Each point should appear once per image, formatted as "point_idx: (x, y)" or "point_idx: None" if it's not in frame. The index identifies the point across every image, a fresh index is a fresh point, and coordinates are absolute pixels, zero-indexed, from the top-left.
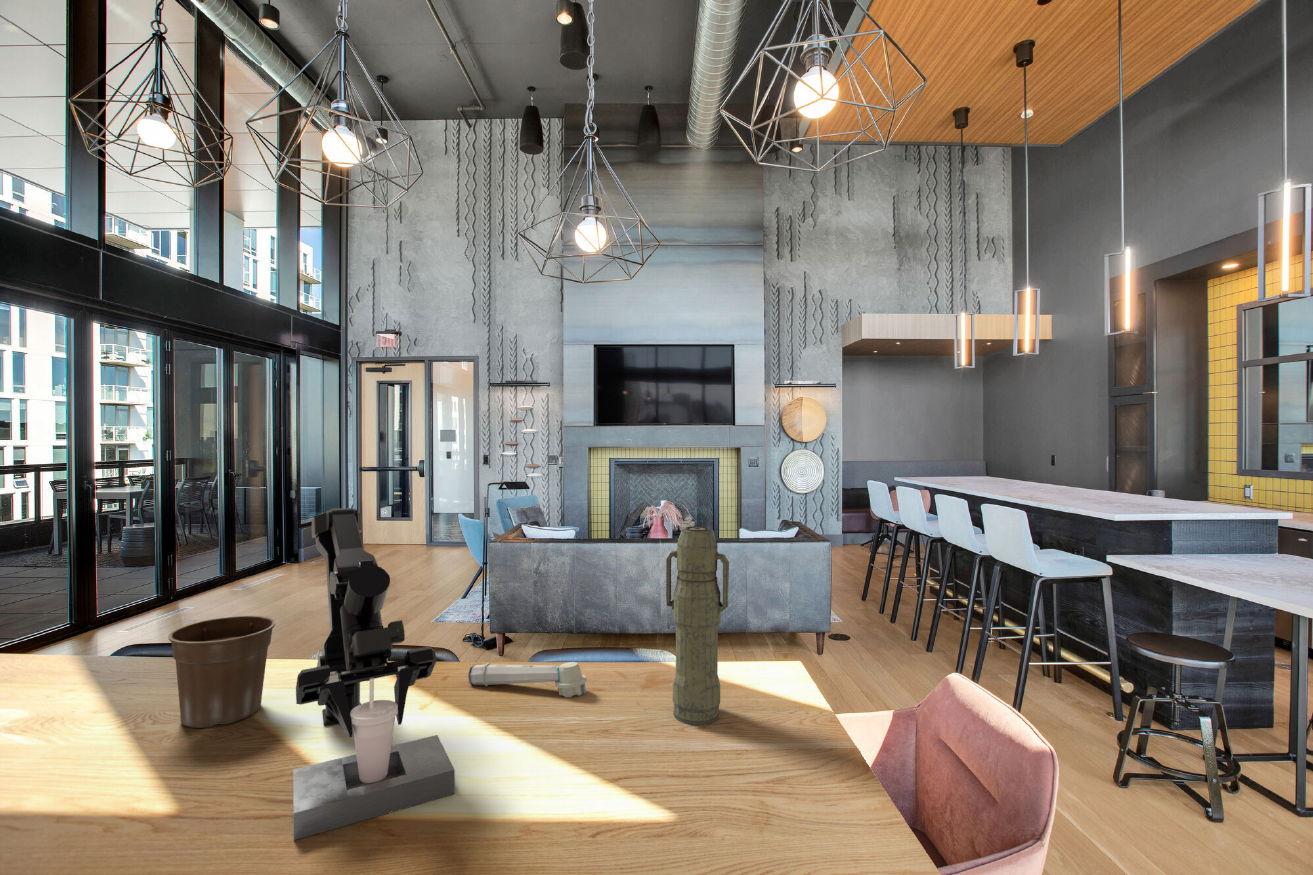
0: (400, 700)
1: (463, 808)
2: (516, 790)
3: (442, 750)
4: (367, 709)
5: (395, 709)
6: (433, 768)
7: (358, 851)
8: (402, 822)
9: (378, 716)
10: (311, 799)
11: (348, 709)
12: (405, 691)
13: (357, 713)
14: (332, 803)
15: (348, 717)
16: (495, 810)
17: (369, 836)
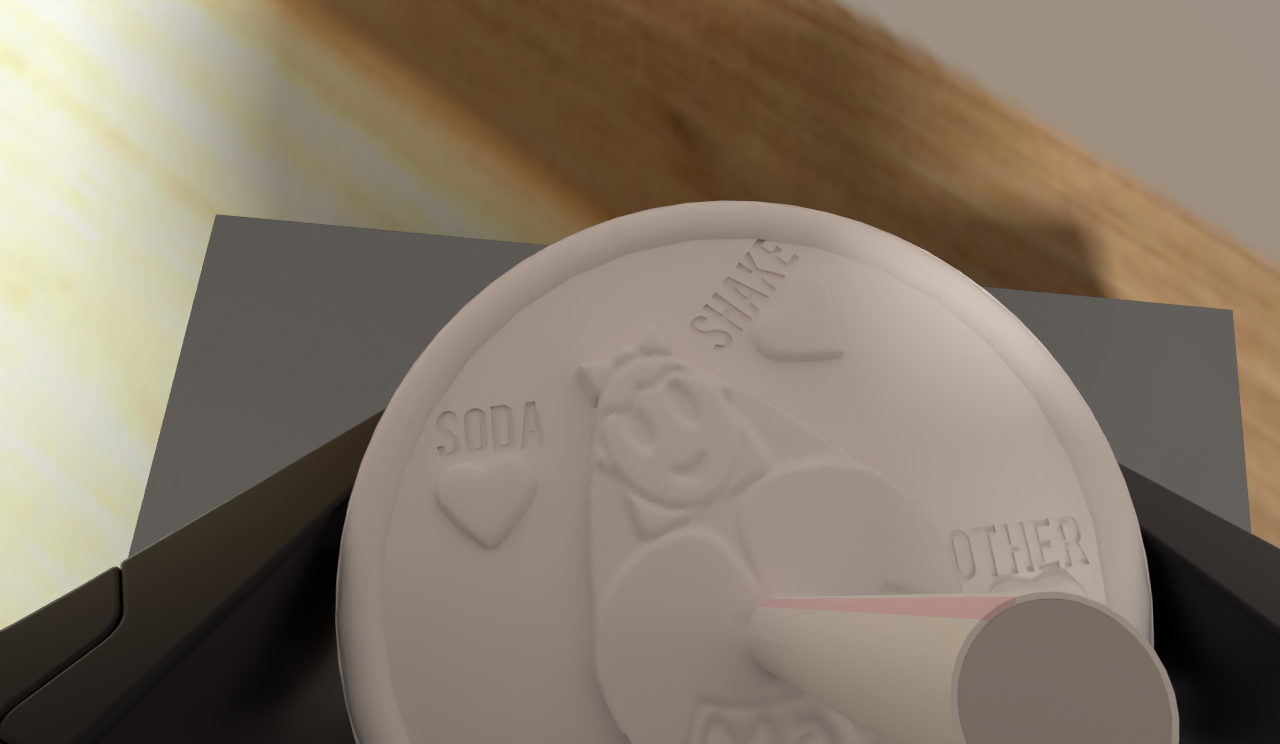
0: (255, 548)
1: (312, 126)
2: (12, 115)
3: (150, 544)
4: (867, 569)
5: (439, 332)
6: (322, 314)
7: (843, 94)
8: (611, 191)
9: (739, 221)
10: (1131, 411)
11: (1252, 617)
12: (32, 641)
13: (1027, 584)
14: (1001, 288)
15: (1173, 527)
16: (195, 22)
17: (779, 174)
